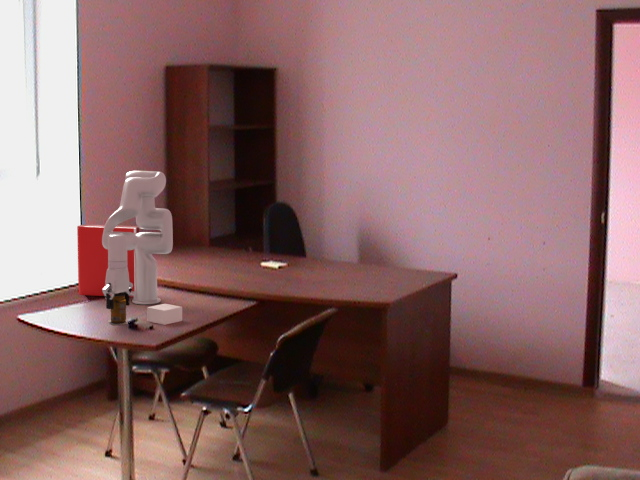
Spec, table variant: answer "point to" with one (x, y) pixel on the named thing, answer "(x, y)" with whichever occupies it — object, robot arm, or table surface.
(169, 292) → the table surface
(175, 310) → the cream block
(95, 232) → the book
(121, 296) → the condiment
